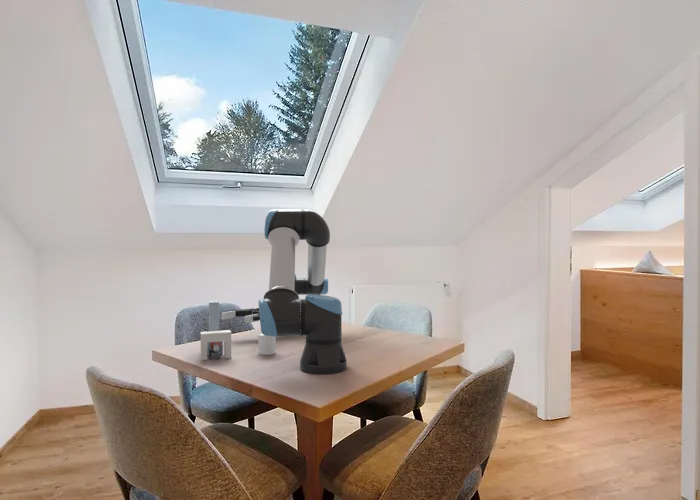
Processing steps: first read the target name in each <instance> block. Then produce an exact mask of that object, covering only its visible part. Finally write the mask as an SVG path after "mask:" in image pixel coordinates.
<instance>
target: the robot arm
mask: <svg viewBox="0 0 700 500" xmlns="http://www.w3.org/2000/svg"><path fill="white" fill-rule="evenodd" d="M264 221H265V222H264V232H263V233H264V238H265V239H266V240H268V243H269V244H270V245H271V252H270V267H269V269H270V270H269V281H268V283H269V284H268V290H267V291H266V292H265V293H264V295H263V298H261V299H259V300H258V307H257V308H253V307H252V308H243V309H231V310H230V311H224V312H221V320H230V319H233V320H234V319H236V317H237V318H239V317H244V323H245V324H249V323H251V324H252V323H254V322H259V325H260V331H261V332H260V333H262V334H263V335H265V336H274V337H276V338H277V337H296V336H297V337H298V336H299V337H301V336H302V337H303V336H305V345H304V349H303V351H302V354H301V357H300V360H299V368H300V370H302V371H303V372H305V373H309V374H317V375H330V374H337V373H341V372H343V371H345V370H346V369H347V367H348V363H347V362H348V360H347V356H346V354H345V350H344V347H343V344H342V342H343V341H342V336H343V334H342V331H343V330H342V328H343V327H342V323H343V322H342V315H343V310H342V309H343V308H342V302H341V300H340V299H339V298H336V297H334V296H329V295H327V294H328V292H329V279H328V278H327V277H326V276H325V274H326V273H325V272H326V258H327V248H328V247H327V245H328V244H329V243H330V240H331V239H330V238H331V233H330V232H331V231H330V228H329V226H328V224H327V222H326V220H325V219H324V218H323V216H321V215H320V214H319V213H318V212H316V211H314V210H311V209H282V208H278V209H276V208H275V209H270V210H269V211H268V212H267V214H266V216H265V220H264ZM301 240H302V241H305V242H306V243H307V244H308V245H307V246H308V247H307V250H308V251H307V277H297V274H296V267H295V266H296V246H298V244H299V242H300V241H301ZM301 295H302V296H304V295H305V298H300V296H301Z"/></svg>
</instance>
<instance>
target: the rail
mask: <svg viewBox="0 0 700 500" xmlns="http://www.w3.org/2000/svg"><path fill="white" fill-rule="evenodd" d="M210 358H211V360H220V359H222V355H221V352H219V353H215V352H214V350H210Z"/></svg>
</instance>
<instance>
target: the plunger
mask: <svg viewBox="0 0 700 500" xmlns="http://www.w3.org/2000/svg"><path fill="white" fill-rule="evenodd" d="M219 347H220V342H211V348H212V349H214V352H215V353H219V352H220V348H219Z"/></svg>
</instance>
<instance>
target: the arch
mask: <svg viewBox="0 0 700 500" xmlns="http://www.w3.org/2000/svg"><path fill="white" fill-rule="evenodd" d="M221 341H223V355H224V358H225V359H231V358H232V331H231V330H230V329H225V330H219V331H209V330H208V331H200V361H207V360H208V355H207V342H221Z"/></svg>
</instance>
